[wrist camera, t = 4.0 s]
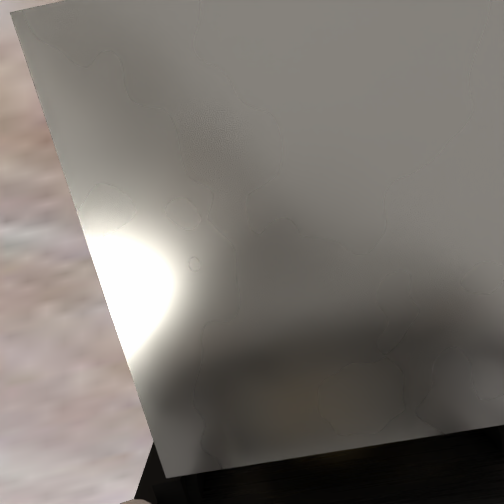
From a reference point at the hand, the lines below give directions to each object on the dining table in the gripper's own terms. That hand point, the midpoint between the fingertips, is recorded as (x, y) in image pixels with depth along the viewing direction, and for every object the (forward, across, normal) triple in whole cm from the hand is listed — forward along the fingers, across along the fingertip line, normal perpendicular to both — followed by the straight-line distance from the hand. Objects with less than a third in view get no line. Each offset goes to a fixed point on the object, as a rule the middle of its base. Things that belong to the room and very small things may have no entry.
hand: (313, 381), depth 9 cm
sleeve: (+5, 0, -5) cm, 7 cm away
